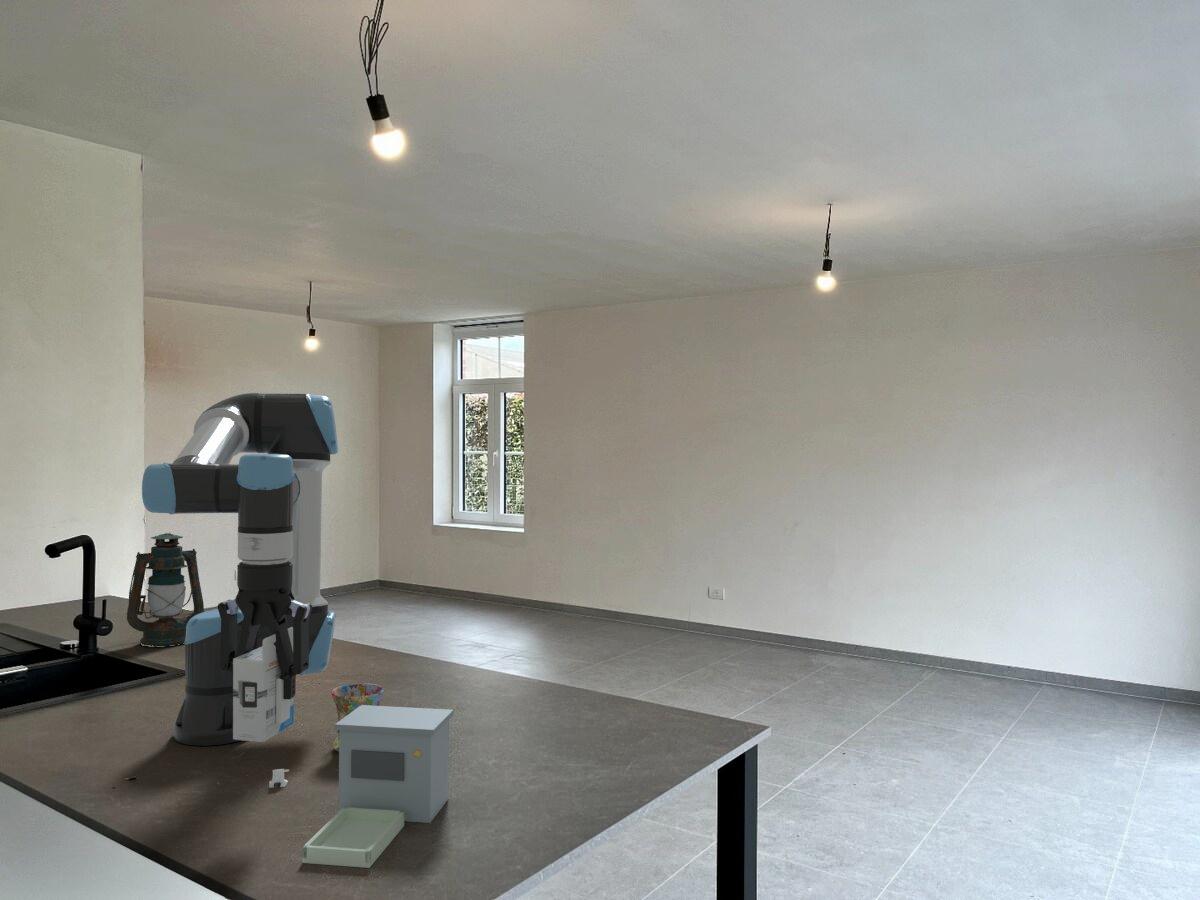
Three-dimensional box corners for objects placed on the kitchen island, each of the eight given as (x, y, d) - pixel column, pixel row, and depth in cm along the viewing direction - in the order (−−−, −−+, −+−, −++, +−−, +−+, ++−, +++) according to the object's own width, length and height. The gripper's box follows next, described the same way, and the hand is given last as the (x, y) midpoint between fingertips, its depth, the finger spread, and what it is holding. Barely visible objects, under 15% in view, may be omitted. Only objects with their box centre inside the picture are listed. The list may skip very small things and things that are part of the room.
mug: (393, 749, 163) (394, 690, 162) (345, 761, 156) (346, 700, 156) (361, 733, 171) (361, 677, 171) (314, 744, 165) (315, 686, 165)
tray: (302, 862, 119) (302, 846, 119) (343, 821, 132) (343, 806, 132) (369, 867, 117) (369, 851, 117) (404, 825, 130) (404, 811, 130)
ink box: (265, 721, 136) (265, 623, 136) (295, 723, 135) (295, 625, 135) (231, 740, 128) (231, 636, 127) (262, 743, 127) (263, 639, 126)
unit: (333, 817, 133) (334, 724, 133) (360, 792, 143) (361, 704, 143) (432, 824, 131) (433, 729, 131) (452, 797, 141) (453, 709, 141)
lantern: (132, 651, 234) (133, 536, 234) (119, 642, 245) (120, 532, 245) (210, 641, 247) (211, 532, 247) (194, 633, 258) (195, 528, 258)
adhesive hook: (269, 791, 144) (269, 772, 144) (268, 785, 146) (268, 766, 146) (289, 789, 145) (289, 769, 145) (288, 783, 147) (288, 764, 147)
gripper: (192, 561, 128) (191, 724, 129) (313, 566, 126) (311, 731, 127) (220, 554, 136) (220, 707, 136) (335, 558, 133) (334, 714, 134)
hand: (264, 719), depth 131 cm, fingers closed on ink box, 5 cm apart
